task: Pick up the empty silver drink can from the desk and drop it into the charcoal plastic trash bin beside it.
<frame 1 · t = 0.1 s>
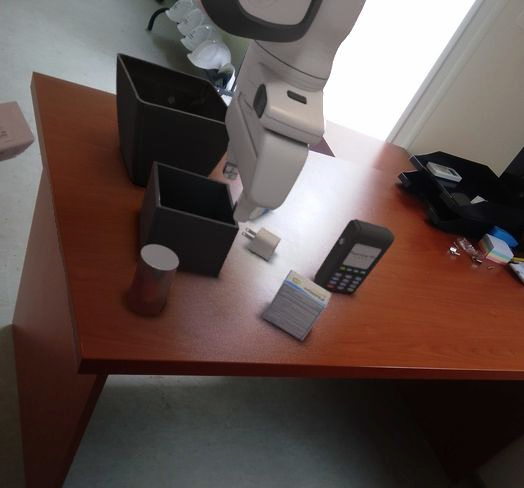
hand: (233, 196, 57), 20 cm above the table, tool pointing down, fingers open, 8 cm apart
trash bin: (177, 245, 80), on the table
usb wall charger: (254, 248, 90), on the table
ink box: (252, 210, 99), on the table
drink can: (145, 303, 68), on the table
card reader: (332, 288, 92), on the table
flower pot: (156, 172, 93), on the table
medicine box: (284, 324, 78), on the table
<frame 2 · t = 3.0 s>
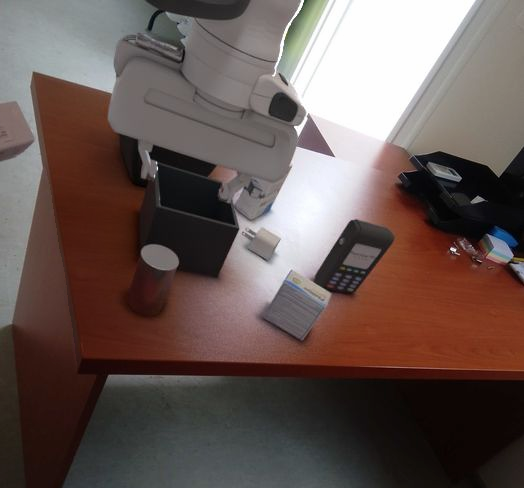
hand: (186, 188, 55), 20 cm above the table, tool pointing down, fingers open, 8 cm apart
nothing on the table moved.
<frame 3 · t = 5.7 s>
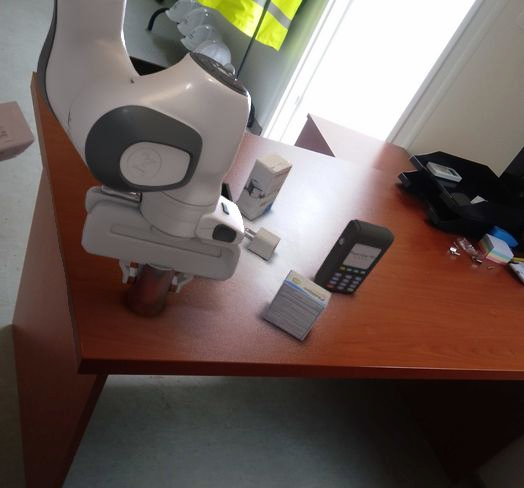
hand: (151, 285, 65), 4 cm above the table, tool pointing down, fingers closed on drink can, 5 cm apart
drink can: (144, 303, 68), on the table, touching gripper
everything else where it was.
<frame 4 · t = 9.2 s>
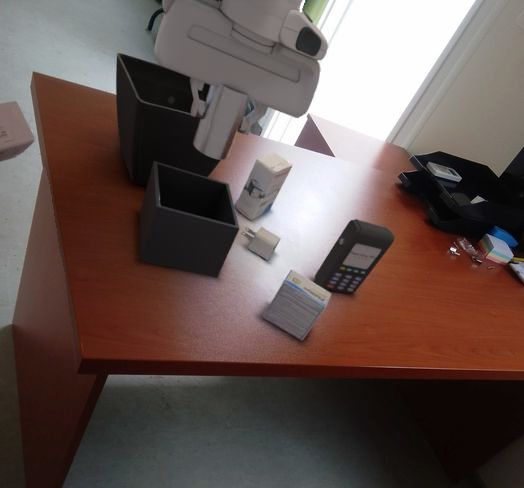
hand: (219, 124, 61), 24 cm above the table, tool pointing down, fingers closed on drink can, 5 cm apart
drink can: (210, 149, 64), point 20 cm above the table, touching gripper
everything else where it was.
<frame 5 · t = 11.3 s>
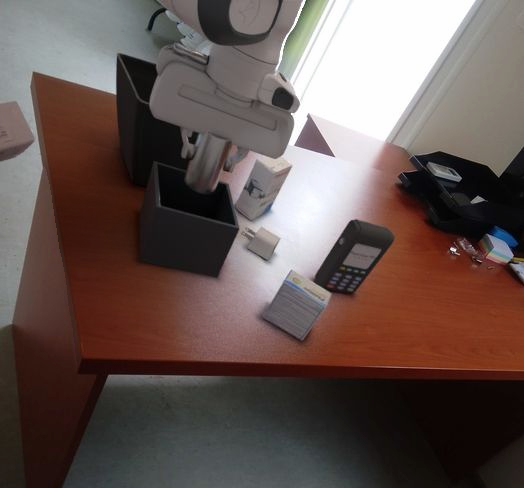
hand: (207, 163, 70), 16 cm above the table, tool pointing down, fingers closed on drink can, 5 cm apart
drink can: (199, 184, 72), point 12 cm above the table, touching gripper
everything else where it was.
when the fingers open (12 cm above the table, at t = 12.9 s): drink can drops 8 cm, resting on trash bin.
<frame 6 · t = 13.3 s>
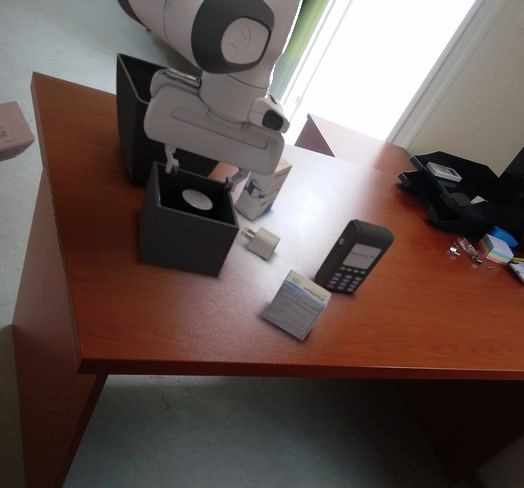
hand: (200, 181, 71), 13 cm above the table, tool pointing down, fingers open, 8 cm apart
drink can: (178, 242, 80), point 1 cm above the table, touching trash bin
everything else where it was.
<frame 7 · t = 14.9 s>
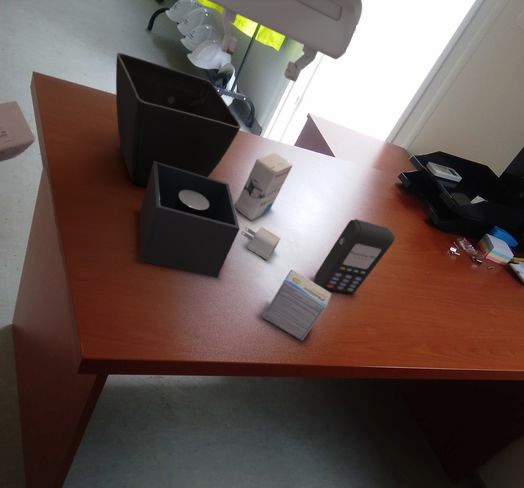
hand: (259, 65, 62), 31 cm above the table, tool pointing down, fingers open, 8 cm apart
nothing on the table moved.
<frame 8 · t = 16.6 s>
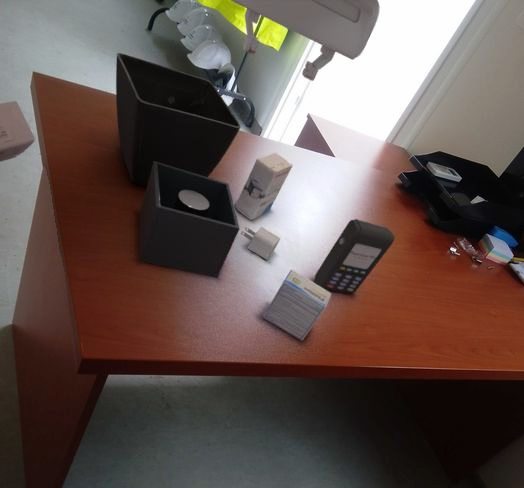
hand: (278, 65, 64), 31 cm above the table, tool pointing down, fingers open, 8 cm apart
nothing on the table moved.
at the end: drink can inside the target area in the trash bin (0.0 cm from its centre), point 0.5 cm above the trash bin's base; the gripper is holding nothing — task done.
